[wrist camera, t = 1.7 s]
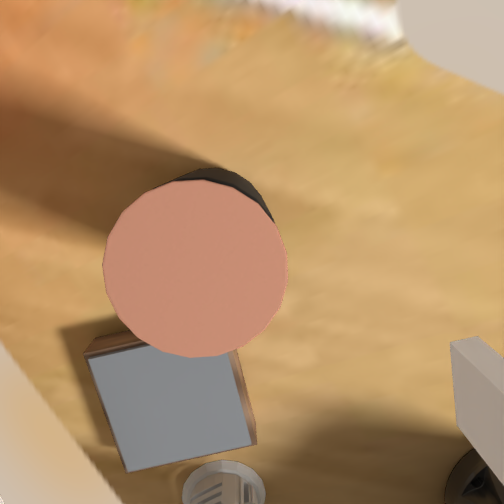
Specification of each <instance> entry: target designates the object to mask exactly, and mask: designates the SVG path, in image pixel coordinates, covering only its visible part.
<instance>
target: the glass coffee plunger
mask: <svg viewBox="0 0 504 504" xmlns="http://www.w3.org/2000/svg"><path fill="white" fill-rule="evenodd" d="M265 496H266V492H265V488H264V484H263V481H262V479H261V478H260V477H259V476H258V475H257V473H256V472H255V471H254V470H253V469H252V468H250V467H248V466H246V465H244V464H242V463H240V462H236V461H228V460H219V461H214V462H210V463H206V464H204V465H202V466H201V467H199V468H198V469H196V470H195V471H193V472H192V473H191V474H190V476H189V477H188V479H187V480H186V482H185V483H184V485H183V492H182V501H183V504H264V501H265Z"/></svg>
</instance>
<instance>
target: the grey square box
mask: <svg viewBox="0 0 504 504" xmlns="http://www.w3.org/2000/svg"><path fill="white" fill-rule="evenodd" d="M83 355H84V358H85V360H86V363H87V366H88V369H89V372H90V374H91V377H92V380H93V383H94V386H95V388H96V391H97V394H98V397H99V400H100V402H101V405H102V408H103V411H104V414H105V416H106V419H107V422H108V425H109V428H110V430H111V433H112V436H113V439H114V442H115V444H116V447H117V450H118V453H119V456H120V458H121V461H122V464H123V467H124V470H125V472H126V473H131V472H135V471H140V470H144V469H149V468H153V467H158V466H162V465H167V464H171V463H176V462H181V461H185V460H190V459H194V458H199V457H203V456H208V455H212V454H217V453H221V452H226V451H230V450H235V449H239V448H244V447H248V446H253V445H257V435H256V422H255V419H254V415H253V411H252V407H251V403H250V399H249V396H248V392H247V388H246V384H245V380H244V376H243V373H242V369H241V365H240V361H239V357H238V353H237V350H236V349H235V350H232V351H229V352H227V353H224V354H221V355H219V356H209V357H194V358H189V357H184V356H180V355H175V354H171V353H166V352H162V351H160V350H159V349H157V348H155V347H153V346H151V345H150V344H148V343H146V342H144V341H142V340H141V339H139V338H138V337H137V336H136V335H135V334H134V333H133V332H132V331H131V330H128V331H124V332H119V333H115V334H111V335H106V336H102V337H98V338H95V339H94V340H93V342H92V343H91V344H90V345H89V347H88V348H87V349H86V351H85V352H84V353H83Z"/></svg>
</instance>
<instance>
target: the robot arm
mask: <svg viewBox="0 0 504 504" xmlns="http://www.w3.org/2000/svg"><path fill="white" fill-rule="evenodd" d="M450 352H451V363H452V375H453V387H454V398H455V410H456V422H457V426H458V427H459V429H460V430H461V431H462V433H463V434H464V435H465V437H466V438H467V439H468V440H469V442H470V443H471V444H472V446H473V447H474V449H473V450H471V451H470V452H469V453H468V454H466V455H465V456H464V457H463V458H462V459H461V460H460V462H459V463H458V464H457V465H456V467H455V468H454V470H453V471H452V473H451V475H450V477H449V479H448V482H447V486H446V490H445V504H504V358H503V357H502V356H501V355H500V354H498V353H497V352H496V351H495V350H494V349H492V348H491V347H490V346H489V345H487V344H486V343H485V342H484V341H483V340H481V339H480V338H479V337H478V336H476V337H471V338H467V339H462V340H458V341H453V342H450ZM0 504H5V503H4V501H3V499H2V497H1V495H0Z"/></svg>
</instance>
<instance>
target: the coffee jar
mask: <svg viewBox="0 0 504 504" xmlns="http://www.w3.org/2000/svg"><path fill="white" fill-rule="evenodd" d="M102 266H103V273H104V280H105V287H106V293H107V295H108V297H109V299H110V301H111V303H112V305H113V307H114V309H115V311H116V313H117V315H118V317H119V319H120V320H121V321H122V322H123V323H124V324H125V325H126V326H127V327H128V328H129V329H130V330H131V331H132V332H133V333H134V334H135V335H136V336H137V337H138V338H139V339H141V340H142V341H144V342H146V343H148V344H150V345H151V346H153V347H155V348H157V349H159V350H160V351H162V352H166V353H171V354H175V355H180V356H184V357H189V358H194V357H209V356H219V355H221V354H224V353H227V352H229V351H232V350H235V349H237V348H240V347H243V346H244V345H246V344H247V343H248V342H249V341H251V340H252V339H253V338H255V337H256V336H257V335H259V334H260V333H261V332H262V331H264V330H265V329H266V327H267V326H268V324H269V323H270V321H271V320H272V318H273V317H274V316H275V314H276V313H277V311H278V310H279V308H280V307H281V303H282V300H283V296H284V293H285V290H286V286H287V283H288V267H287V252H286V249H285V247H284V244H283V241H282V239H281V236H280V234H279V231H278V228H277V226H276V225H275V222H274V220H273V218H272V216H271V214H270V212H269V210H268V208H267V206H266V204H265V202H264V200H263V198H262V196H261V195H260V194H259V193H258V191H257V190H256V189H255V188H254V186H253V185H252V184H251V183H250V182H249V181H247V180H246V179H244V178H243V177H241V176H240V175H238V174H237V173H235V172H231V171H227V170H224V169H220V168H208V169H198V170H196V171H193V172H191V173H188V174H186V175H183V176H181V177H179V178H176V179H174V180H172V181H169V182H167V183H165V184H162V185H160V186H158V187H155V188H153V189H152V190H150V191H147V192H145V193H143V194H142V195H141V196H140V197H139V198H138V199H136V200H135V201H134V202H133V203H132V204H131V205H129V206H128V207H127V208H126V209H125V210H124V211H122V213H121V215H120V216H119V218H118V220H117V221H116V223H115V225H114V227H113V228H112V230H111V232H110V234H109V235H108V237H107V243H106V248H105V253H104V258H103V264H102Z"/></svg>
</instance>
